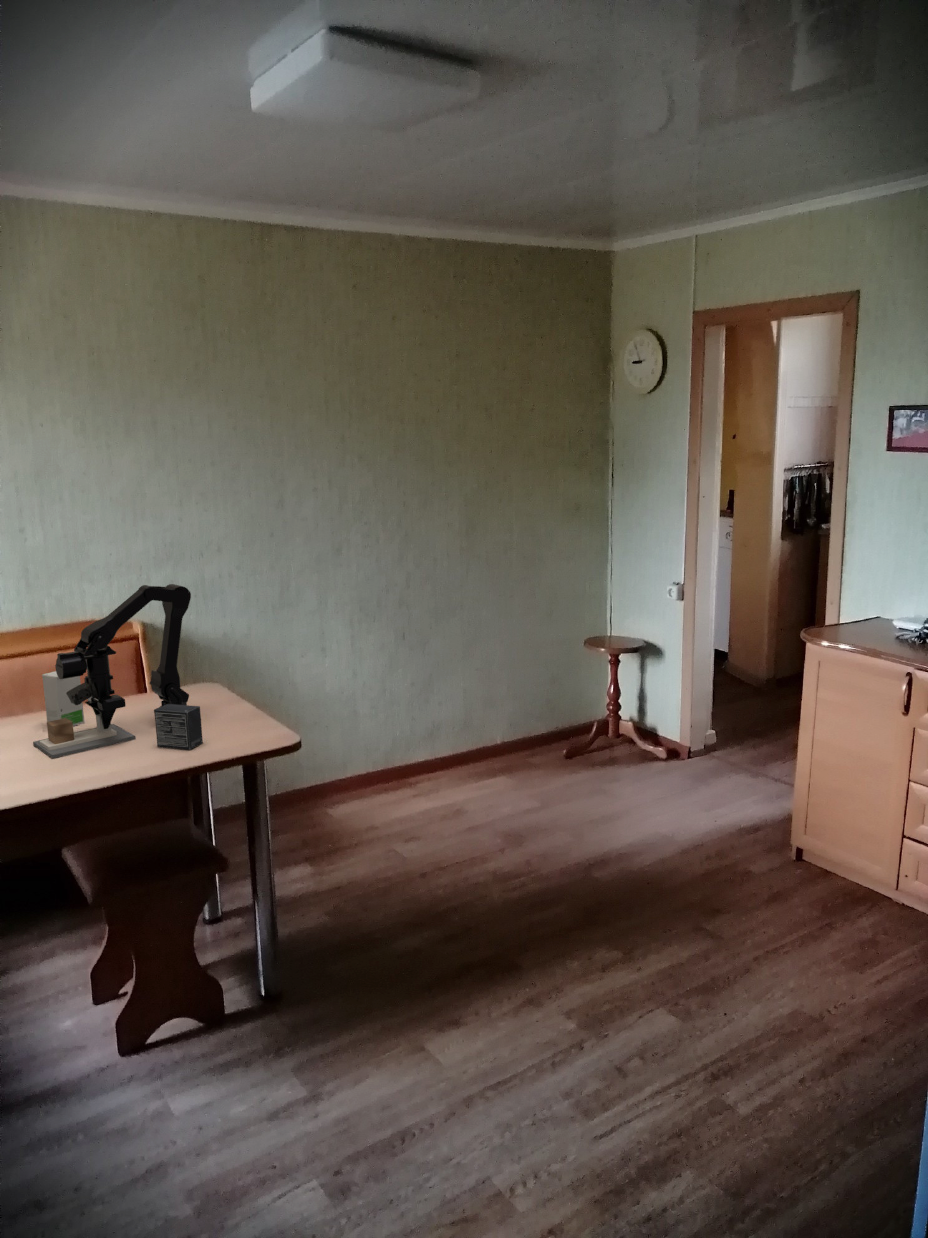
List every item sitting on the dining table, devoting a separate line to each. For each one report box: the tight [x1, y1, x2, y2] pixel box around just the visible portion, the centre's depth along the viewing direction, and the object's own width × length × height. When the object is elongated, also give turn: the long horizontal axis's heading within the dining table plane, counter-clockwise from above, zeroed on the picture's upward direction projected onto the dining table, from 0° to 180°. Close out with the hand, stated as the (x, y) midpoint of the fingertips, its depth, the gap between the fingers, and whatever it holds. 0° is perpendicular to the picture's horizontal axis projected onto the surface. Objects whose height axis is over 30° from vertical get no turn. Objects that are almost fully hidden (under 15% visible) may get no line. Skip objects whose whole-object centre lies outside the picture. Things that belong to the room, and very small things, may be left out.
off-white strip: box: [40, 714, 117, 751], centre depth 259 cm, size 18×7×6 cm, turn 131°
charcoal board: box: [32, 723, 136, 760], centre depth 260 cm, size 22×15×1 cm
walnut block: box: [46, 718, 75, 744], centre depth 256 cm, size 5×5×5 cm
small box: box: [153, 704, 204, 751], centre depth 255 cm, size 11×6×10 cm, turn 71°
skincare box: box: [41, 670, 85, 727], centre depth 275 cm, size 8×7×16 cm
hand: (104, 727), depth 263 cm, fingers closed on off-white strip, 2 cm apart
